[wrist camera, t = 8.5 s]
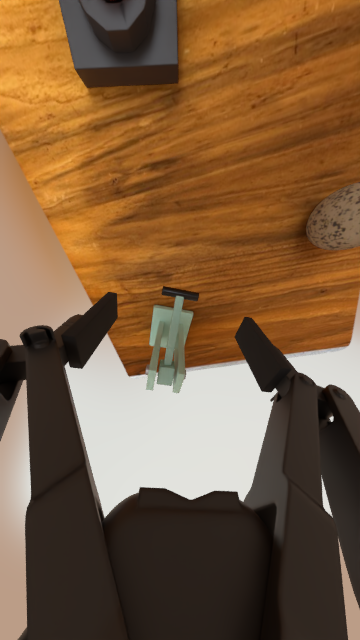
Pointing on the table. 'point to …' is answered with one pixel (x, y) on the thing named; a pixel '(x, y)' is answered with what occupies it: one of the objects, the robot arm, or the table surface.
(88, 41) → the control block
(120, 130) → the table surface
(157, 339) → the bracket
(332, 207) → the decorative egg
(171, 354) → the lever
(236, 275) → the table surface
